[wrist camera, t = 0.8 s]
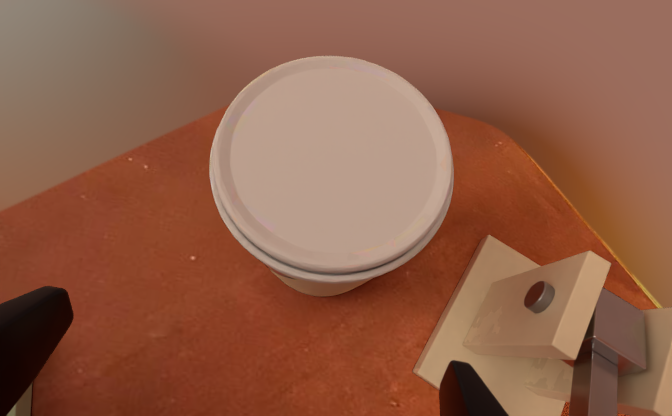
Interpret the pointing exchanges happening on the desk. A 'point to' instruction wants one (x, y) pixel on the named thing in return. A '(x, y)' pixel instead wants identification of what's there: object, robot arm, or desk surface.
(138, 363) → the desk surface
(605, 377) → the lever
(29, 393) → the button block
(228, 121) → the coffee cup
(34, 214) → the desk surface
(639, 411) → the bracket
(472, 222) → the desk surface
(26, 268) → the desk surface
